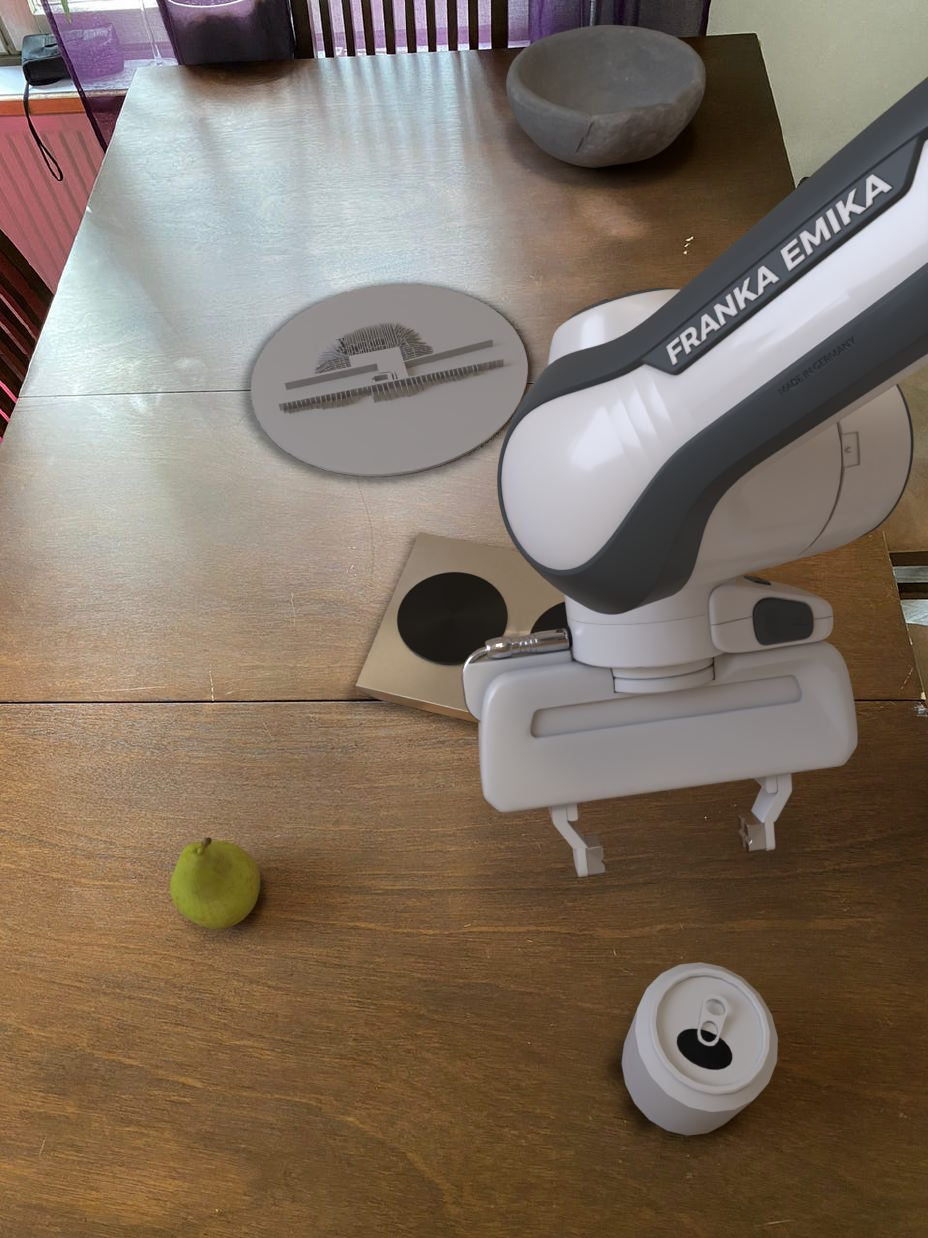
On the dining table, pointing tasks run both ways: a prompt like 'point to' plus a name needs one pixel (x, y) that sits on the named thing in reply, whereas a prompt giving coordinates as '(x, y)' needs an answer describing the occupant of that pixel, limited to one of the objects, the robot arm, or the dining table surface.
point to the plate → (389, 380)
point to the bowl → (605, 93)
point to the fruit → (215, 883)
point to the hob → (453, 620)
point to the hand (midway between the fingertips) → (673, 859)
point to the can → (698, 1048)
